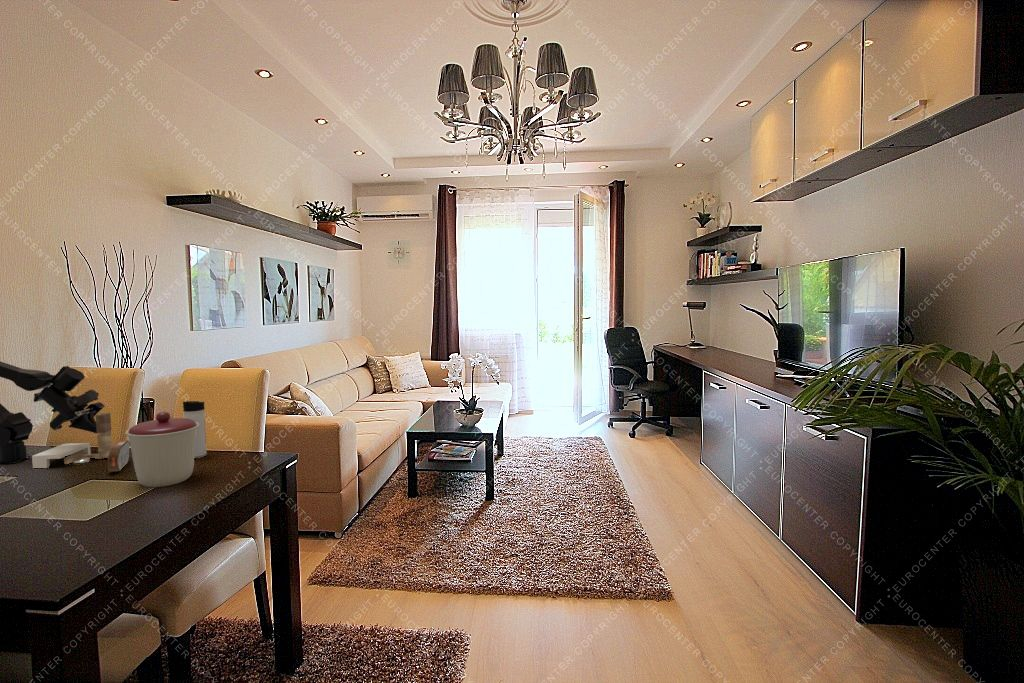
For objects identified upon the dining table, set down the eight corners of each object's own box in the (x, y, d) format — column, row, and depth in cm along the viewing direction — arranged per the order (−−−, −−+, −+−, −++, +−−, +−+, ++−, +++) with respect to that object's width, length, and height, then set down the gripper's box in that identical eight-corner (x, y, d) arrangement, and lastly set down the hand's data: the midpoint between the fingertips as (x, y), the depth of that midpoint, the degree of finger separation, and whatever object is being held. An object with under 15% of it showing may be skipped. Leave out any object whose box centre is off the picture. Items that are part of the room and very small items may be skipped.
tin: (121, 462, 168) (119, 437, 168) (132, 460, 170) (131, 436, 169) (107, 476, 155) (105, 449, 154) (119, 474, 156) (118, 448, 155)
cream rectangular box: (32, 469, 160) (32, 455, 160) (65, 456, 174) (64, 443, 174) (60, 468, 162) (60, 454, 161) (90, 455, 175) (90, 442, 175)
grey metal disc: (69, 465, 164) (69, 461, 164) (78, 461, 169) (78, 457, 169) (84, 465, 165) (83, 461, 165) (93, 461, 169) (93, 457, 169)
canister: (182, 467, 163) (179, 403, 161) (213, 478, 154) (211, 410, 152) (116, 485, 147) (112, 414, 146) (146, 497, 138) (142, 422, 136)
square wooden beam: (64, 464, 164) (61, 419, 163) (82, 456, 172) (80, 413, 171) (96, 463, 165) (93, 418, 164) (112, 455, 174) (110, 413, 173)
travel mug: (179, 459, 171) (177, 401, 170) (197, 453, 178) (194, 398, 176) (194, 461, 169) (191, 402, 168) (211, 455, 176) (208, 399, 174)
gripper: (57, 388, 160) (98, 421, 162) (97, 379, 178) (132, 409, 181) (31, 413, 159) (72, 446, 162) (73, 402, 178) (110, 431, 180)
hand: (99, 432), depth 171 cm, fingers closed, pressing on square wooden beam
